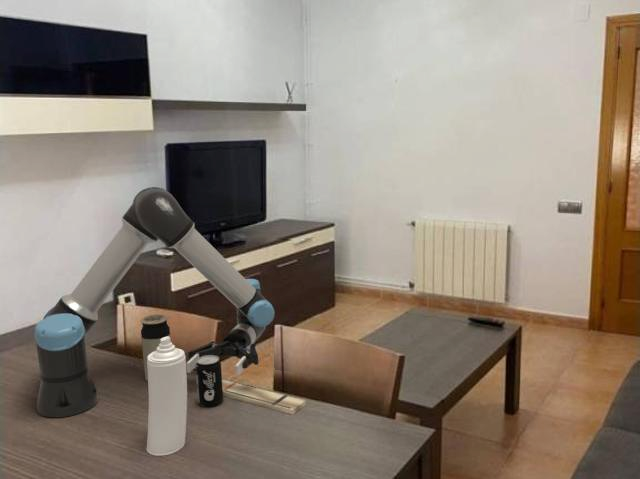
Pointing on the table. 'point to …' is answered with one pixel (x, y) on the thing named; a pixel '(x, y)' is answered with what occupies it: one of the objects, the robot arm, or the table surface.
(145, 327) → the travel mug
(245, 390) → the birch straightedge
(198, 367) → the beverage can
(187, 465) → the table surface
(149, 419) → the spray can
